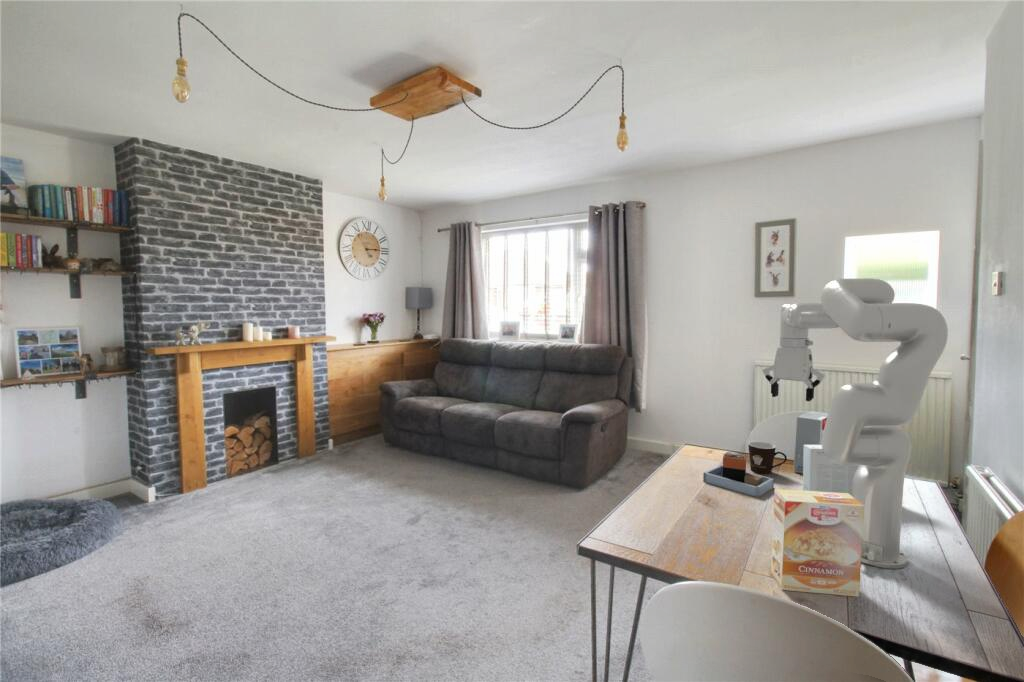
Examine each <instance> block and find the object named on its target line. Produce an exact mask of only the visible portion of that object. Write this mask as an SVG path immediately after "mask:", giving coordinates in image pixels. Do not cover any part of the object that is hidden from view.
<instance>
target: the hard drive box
mask: <svg viewBox="0 0 1024 682" xmlns="http://www.w3.org/2000/svg"><path fill="white" fill-rule="evenodd" d="M828 413H829V412H828ZM828 413H826V412H821V411H815V410H814V411H813V410H811V411H807V412H806V413H803V414H801V415H799V416H797V417H796V427H795V442H794V444H795V445H794V456H793V458H794V459H793V472H794V473H799V474H802V475H803V452H804V445H822V436H823V431H824V427H825V424H826V420H827V417H828Z"/></svg>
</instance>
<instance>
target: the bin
mask: <svg viewBox="0 0 1024 682" xmlns="http://www.w3.org/2000/svg"><path fill="white" fill-rule="evenodd" d="M722 472H723V464H720V465H718V466H715V467H713V468H711V469H708V470H707V471H704V472H703V474H702V475H703V478H702V479H703V480H702V481H703V483H704V482H705V483H708V484H712V485H713V486H717V487H721V488H725V489H727V490H731V491H735V492H738V493H741V494H744V495H748V496H752V497H755V498H760V497H761V496H763V495H764V494H766V493H768V492H769V491H771V490H772V489H774V484H775V479H774V478H772V477H769V476H764V475H762V474H758V473H754V472H753V473H752V472H750V471H749V472H748V471H746V475H748V474H754V475H758V476H762V477H763V483H762V484H760V485H758V486H757V487H756V486H753V485H749V484H745V483H742V482H738V481H735V480H731V479H727V478H724V477H722Z"/></svg>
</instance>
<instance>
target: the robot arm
mask: <svg viewBox="0 0 1024 682" xmlns="http://www.w3.org/2000/svg"><path fill="white" fill-rule="evenodd" d="M894 300H895V290H894V288H893V287H892V285H891V284H890V283H888V282H887V281H885V280H882V279H879V278H838V279H833V280H831V281H829V282H828V283H826V285H825V286H824V287H823V289H822V291H821V294H820V302H799V303H798V302H796V303H785V304H783V305H782V306H781V307H780V321H779V322H780V324H779V325H780V326H779V328H780V330H779V346H778V347H776V351H775V352H776V353H775V356H774V362H773V365H771V366H768V367H765V368H763V369H762V373H763V375H764V376H765V378H766V379H767V381H768V382H769V384H770V394H771V397H772V398H775V397H777V396H779V389H780V388H779V387H780V386H779V383H778V382H779V381H780V380H784V381H794V382H803V383H804V384H805V385H806V386H807V388H806V389H805V402H811V401H812V400H813V399H814V397H815V388H816V387H817V386H819V385H820V384H821V383H822V381H823V380H824V378H825V376H826V374H824V373H822V372H820V371H819V370H817V369H815V368H814V362H813V353H812V348H809V346H813V345H814V341H813V340H809V330H811V329H814V330H815V329H816V330H817V329H829V330H830V329H838V328H840V329H841V330H842V331H843V332H844V333H845V334H846V335H847V336H848V337H849V338H850V339H852V340H855V341H856V342H857V341H858V342H863V343H879V342H880V343H882V342H884V343H887V342H888V343H894V342H896V343H898V342H899V343H900V345H898V346H897V347H896V348H894V349H893V350H892V351H891V352H890V353H889V354H888V355H887V356H886V357H885V358H884V359H883V361H882V363H881V364H880V368H879V371H878V374H877V376H876V378H875V380H873V381H872V382H871V381H870V382H852V383H847V384H844V385H843V386H841V387H839V388H838V389H837V390H836V392H835V393H834V395H833V397H832V400H831V403H830V406H829V411H828V417H827V420H826V424H825V427H824V431H823V436H822V449H823V452H824V454H825V456H826V457H827V459H828V460H830V461H831V462H833V463H836V464H840V465H860V466H859V467H858V469H857V470H856V472H855V474H854V477H853V483H852V496H853V497H854V498H855V499H856V500H858V501H859V502H860V503H861V504H863V505H864V521H863V538H862V554H861V563H863V564H867V565H868V566H869V565H870V566H873V567H877V568H882V569H894V570H895V569H901V568H904V567H906V566H907V565H908V561H909V560H908V557H907V555H906V554H905V553H904V552H903V551H902V550H900V547H901V546H900V545H901V532H902V528H901V527H902V514H903V513H902V512H903V499H904V485H905V476H906V472H907V467H908V464H909V461H910V458H911V454H912V446H913V445H912V442H911V439H910V438H911V437H910V436H909V435H908V433H907V432H906V431H905V430H904V429H902V428H901V427H899V426H903V425H906V424H909V423H910V422H912V421H913V419H914V418H915V416H916V414H917V412H918V409H919V407H920V404H921V401H922V398H923V396H924V393H925V390H926V388H927V385H928V381H929V379H930V375H931V374H932V372H933V369H934V368H935V366H936V365H937V363H938V361H939V360H940V358H941V355H943V353H944V350H945V348H946V345H947V343H948V342H947V341H948V336H949V335H948V334H949V332H948V331H949V330H948V325H947V321H946V319H945V317H944V315H943V313H942V312H941V311H939V310H938V309H937V308H935V307H933V306H930V305H927V304H922V303H913V302H912V303H910V302H894ZM771 371H773V372H772V373H773V376H772V375H771V373H770V372H771ZM814 376H816V377H817V378H816V380H814V381H813V377H814Z"/></svg>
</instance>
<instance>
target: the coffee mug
mask: <svg viewBox="0 0 1024 682" xmlns="http://www.w3.org/2000/svg"><path fill="white" fill-rule="evenodd" d="M776 448H777V446H776V445H775V444H773V443H769V442H765V441H757V440H756V441H750V442H748V456H749V457H748V458H749V465H750V471H751V473H752V472H753V474H757V475H770V474H772V471H773V469H774V468H776V467H779V466H781V465H784V464H785V463H786V462H787V459H788V458H787V454H785V453H783V452H782V451H777V452H776ZM778 454H780V455H782V456H783V457H784V460H783V461H782V462H780V463H777V464H775V465H773V464H774V458H775V457H776V455H778Z"/></svg>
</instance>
